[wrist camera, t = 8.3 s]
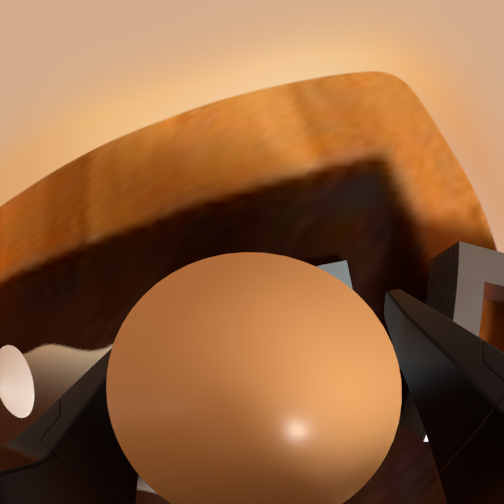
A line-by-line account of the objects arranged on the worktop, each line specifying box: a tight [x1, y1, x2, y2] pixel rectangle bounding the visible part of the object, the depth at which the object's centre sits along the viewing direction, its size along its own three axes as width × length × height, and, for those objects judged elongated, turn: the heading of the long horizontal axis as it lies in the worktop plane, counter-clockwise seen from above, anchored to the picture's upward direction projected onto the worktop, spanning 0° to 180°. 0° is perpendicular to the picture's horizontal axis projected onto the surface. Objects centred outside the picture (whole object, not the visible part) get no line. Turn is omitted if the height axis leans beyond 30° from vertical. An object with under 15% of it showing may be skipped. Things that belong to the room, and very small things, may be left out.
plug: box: [106, 252, 402, 504], centre depth 10 cm, size 5×5×12 cm
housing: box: [399, 241, 504, 441], centre depth 12 cm, size 10×10×4 cm
